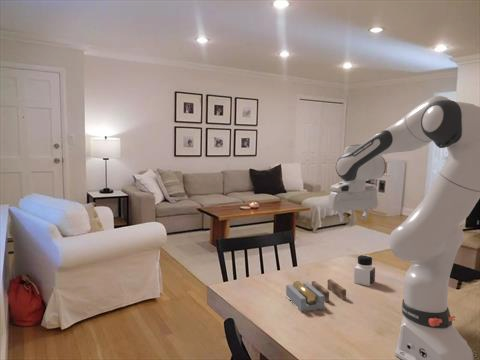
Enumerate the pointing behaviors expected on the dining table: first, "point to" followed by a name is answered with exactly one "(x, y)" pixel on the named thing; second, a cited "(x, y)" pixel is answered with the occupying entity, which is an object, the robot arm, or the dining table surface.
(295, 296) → the cradle
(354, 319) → the dining table surface
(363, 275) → the medicine bottle
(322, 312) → the dining table surface
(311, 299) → the axle
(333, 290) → the pair of brown bars
